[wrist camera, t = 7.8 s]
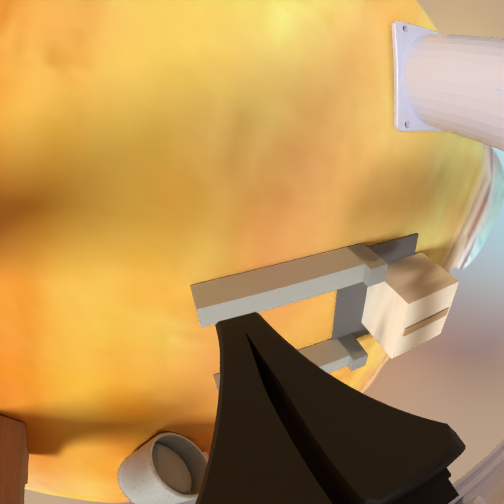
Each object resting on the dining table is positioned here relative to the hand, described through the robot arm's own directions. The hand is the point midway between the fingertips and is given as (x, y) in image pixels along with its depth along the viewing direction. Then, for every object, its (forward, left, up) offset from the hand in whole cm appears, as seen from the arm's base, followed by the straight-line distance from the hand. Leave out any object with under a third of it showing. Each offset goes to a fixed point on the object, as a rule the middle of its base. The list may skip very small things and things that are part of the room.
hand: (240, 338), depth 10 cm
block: (-16, +10, -10) cm, 21 cm away
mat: (-14, +10, -10) cm, 20 cm away
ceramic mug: (+9, +26, -10) cm, 29 cm away
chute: (-5, +10, -10) cm, 15 cm away
